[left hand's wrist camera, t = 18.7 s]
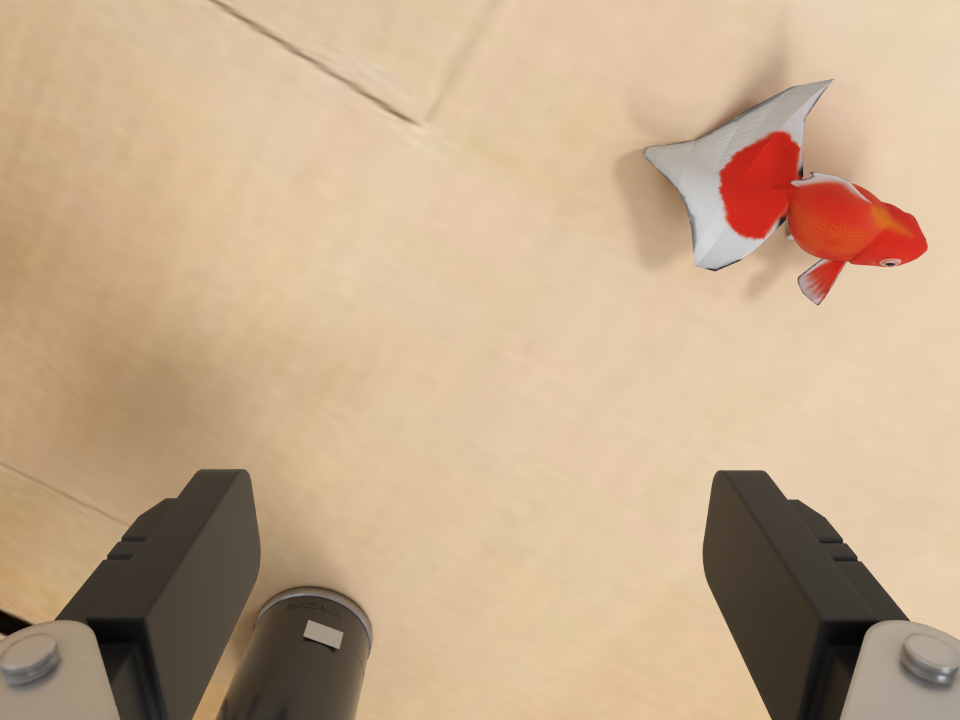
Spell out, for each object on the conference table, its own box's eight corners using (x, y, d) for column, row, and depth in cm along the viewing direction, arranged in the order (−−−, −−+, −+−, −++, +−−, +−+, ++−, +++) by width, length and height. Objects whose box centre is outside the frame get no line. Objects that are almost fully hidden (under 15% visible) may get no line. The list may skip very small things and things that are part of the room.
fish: (801, 377, 41) (874, 347, 31) (600, 227, 44) (609, 156, 34) (911, 245, 41) (1017, 174, 31) (704, 106, 44) (741, 2, 35)
